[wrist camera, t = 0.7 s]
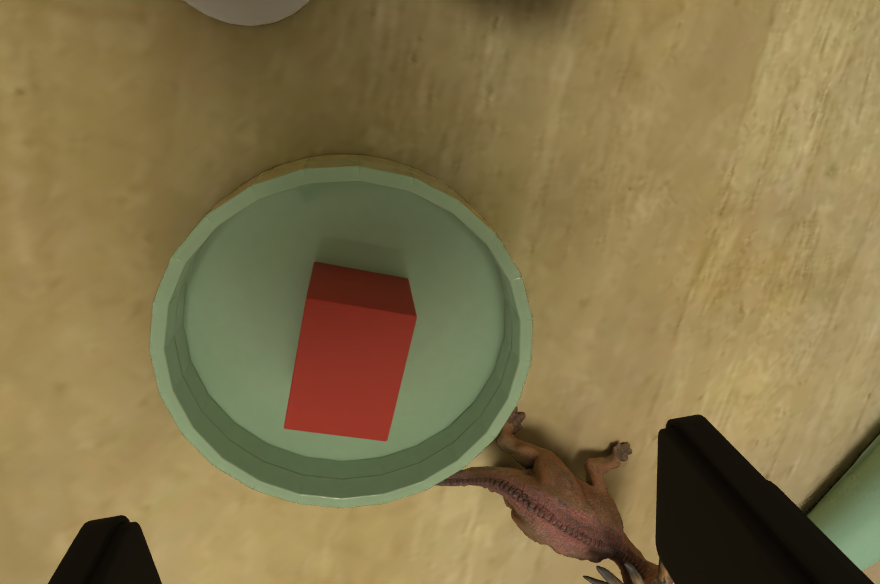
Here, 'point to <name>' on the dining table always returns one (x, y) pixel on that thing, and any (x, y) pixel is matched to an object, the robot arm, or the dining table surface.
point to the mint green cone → (854, 510)
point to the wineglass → (248, 10)
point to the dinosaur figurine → (564, 506)
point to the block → (351, 353)
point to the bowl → (280, 317)
